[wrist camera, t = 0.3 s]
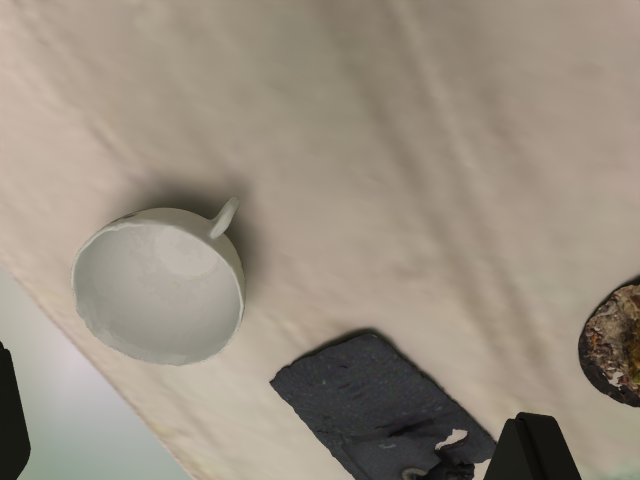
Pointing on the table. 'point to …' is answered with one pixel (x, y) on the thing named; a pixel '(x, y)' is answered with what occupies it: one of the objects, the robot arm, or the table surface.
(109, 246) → the teacup
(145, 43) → the table surface
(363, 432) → the dark slate chunk
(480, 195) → the table surface
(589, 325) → the cactus
